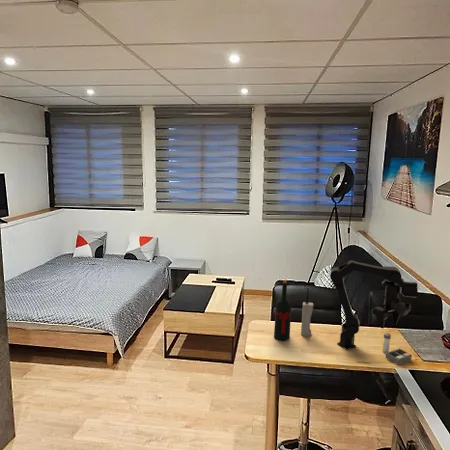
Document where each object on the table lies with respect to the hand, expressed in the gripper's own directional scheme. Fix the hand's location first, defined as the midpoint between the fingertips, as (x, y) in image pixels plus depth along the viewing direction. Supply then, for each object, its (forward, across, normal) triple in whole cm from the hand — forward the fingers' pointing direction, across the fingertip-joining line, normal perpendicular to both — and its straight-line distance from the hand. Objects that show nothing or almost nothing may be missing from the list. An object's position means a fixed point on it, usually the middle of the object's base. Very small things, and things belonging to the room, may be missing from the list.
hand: (388, 326), depth 180 cm
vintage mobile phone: (+13, -22, +31) cm, 40 cm away
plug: (+13, 0, 0) cm, 13 cm away
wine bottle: (+13, -36, +34) cm, 51 cm away
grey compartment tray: (+13, 0, -7) cm, 15 cm away
